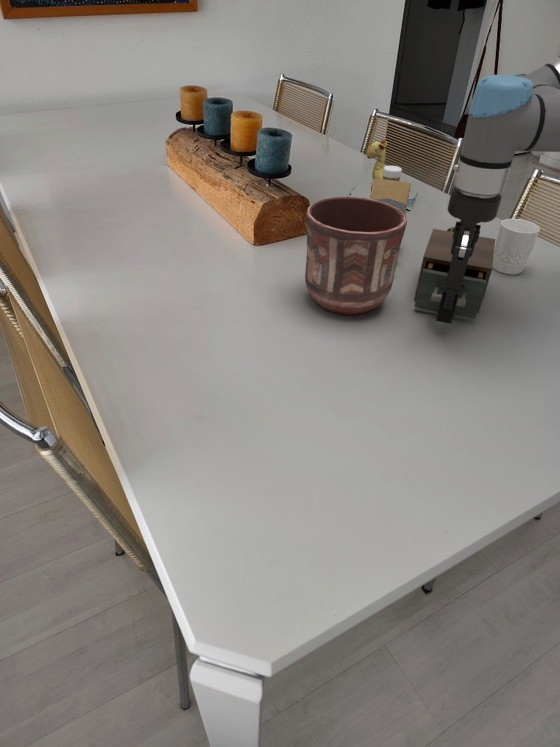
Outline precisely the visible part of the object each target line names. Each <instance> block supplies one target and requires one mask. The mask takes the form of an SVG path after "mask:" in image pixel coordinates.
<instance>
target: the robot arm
mask: <svg viewBox="0 0 560 747" xmlns="http://www.w3.org/2000/svg"><path fill="white" fill-rule="evenodd" d="M471 99H472V100H471V103H470V106H469V109H468V113H467V115H468V117H467V122H466V126H465V130H464V136H463V141H462V146H461V150H460V153H459V159H458V164H453V165H452V171H453V172H456V173H455V175H454V180H453V185H454V187H453V188H452V189H451V191H450V196H449V200H448V204H447V212H448V214H449V215H450V216H452V217H453V218H455V219H458V220H459V221H457V220H456V222H455V224H454V225H455V226H454V227H455V229H454V233H453V244H452V248H451V254H452V255H453V256H452V260H451V264H450V268H449V271H448V273H447V274H448V277H447V279H446V281H445V282H446V285H441V287H440V290H443V294H442V298H441V302H440V306H439V310H438V312H437V314H436V319H435V321H436V322H439V323H443V324H449V325H452V322H453V319H454V311H455V307H456V304H457V300H458V296H459V293H460V291H461V290H460V288H461V287H464V286H465V282H462V281H463V278H464V274H465V270H466V267H467V263H468V260H469V257H471V256H472V254H473V250H474V246H475V243H476V242H477V241H478V238H479V236H480V234H481V227H482V225H481V223H489V222H491V221H494V220H495V219H496V217H497V215H498V211H499V208H500V204H501V201H502V195H501V194H502V193H504V191H505V189H506V186H507V182H508V179H509V175H510V171H511V169H512V168H511V167H512V163H513V160H514V156H515V154H516V152H540V153H541V152H544V153H545V152H547V153H548V152H549V153H560V56H558V57H557V58H555V59H553V60H551V61H549V62H548V63H546V64H544V65H542V66H540V67H539V68H538V67H537V69H535V70H532V72H529V73H528V74H527V73H512V74H508V75H506V74H491V75H486V76H484V77H482V78H481V79H479V81H478V82H477V85H476V87H475V90H474V93H473V96H472V98H471Z"/></svg>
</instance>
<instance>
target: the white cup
mask: <svg viewBox="0 0 560 747" xmlns="http://www.w3.org/2000/svg"><path fill="white" fill-rule="evenodd" d="M540 230H541V228H540V226H539V225H538V224H536V223H534V222H532V221H530V220H526V219H522V218H506V219H503V220H502V221H501V222H500V226H499V230H498V234H497V238H496V241H495V247H494V257H493V266H492V269H493V270H495V271H497V272H498V273H501V274H505V275H509V276H510V275H511V276H514V275H520V274H521V273H523V271H524V269H525V266H526V264H527V261H528V260H529V257H530V256H531V253H532V250H533V248H534V246H535V243H536V241H537V239H538V235H539V233H540Z"/></svg>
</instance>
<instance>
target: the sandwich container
mask: <svg viewBox="0 0 560 747" xmlns="http://www.w3.org/2000/svg"><path fill="white" fill-rule="evenodd" d="M371 184H372V190H371V195H370V199H373V200H377V201H381V202H384V203H387V204H389V205H391V206H393V207H396V208H398V209H399V210H400V211H401V212H402V213H403V214H404V215H406V214H407V210H406V209H407V203H408V198H409V192H410V190H411V185H412V184H411V182H406V181H400V180H399V181H392V180H383V179H373V178H372V183H371ZM399 253H400V251H399V252H398V254H399ZM398 258H399V255H398V256H397V260H396V264H397V263H398ZM396 267H397V265H396V266H395V269H396Z"/></svg>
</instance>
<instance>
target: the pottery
mask: <svg viewBox="0 0 560 747" xmlns="http://www.w3.org/2000/svg"><path fill="white" fill-rule="evenodd" d="M305 216H306V218H305V227H306V229H305V230H306V258H305V271H304V282H305V286H306V288H307V291H308V293H309V295H310V296H311V298H312V300H313V301H314V302H315V303H316V304H317V305H318V306H319V307H321V309H323V310H325V311H327V312H329V313H332V314H334V315H335V314H336V315H340V316H358V315H359V316H360V315H363V314H365V313H369V312H370V311H372V310H374V309H376V308H378V307H379V306H380V305H381V304H382V302H383V301H384V300H385V299H386V298H387V297H388V295H389V294H390V292H391V290H392V287H393V283H394V277H395V272H396V268H395V266H396V267H397V263H396V260H397V261H398V258H397V256H398V257H399V253H400V249H401V244H402V241H403V238H404V234H405V232H406V229H407V228H406V227H407V224H408V221H407V216H406V214H405V215H404V214H403V213H402V212H401V211H400V210H399V209H398V208H396V207H393V206H391V205H389V204H387V203H384V202H381V201H377V200H373V199H367V198H360V197H349V196H337V197H328V198H322V199H320V200H318V201H315V202H313V203H311V204H310V205H309V206H308V207H307V209H306V215H305ZM398 252H399V253H398Z"/></svg>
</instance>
